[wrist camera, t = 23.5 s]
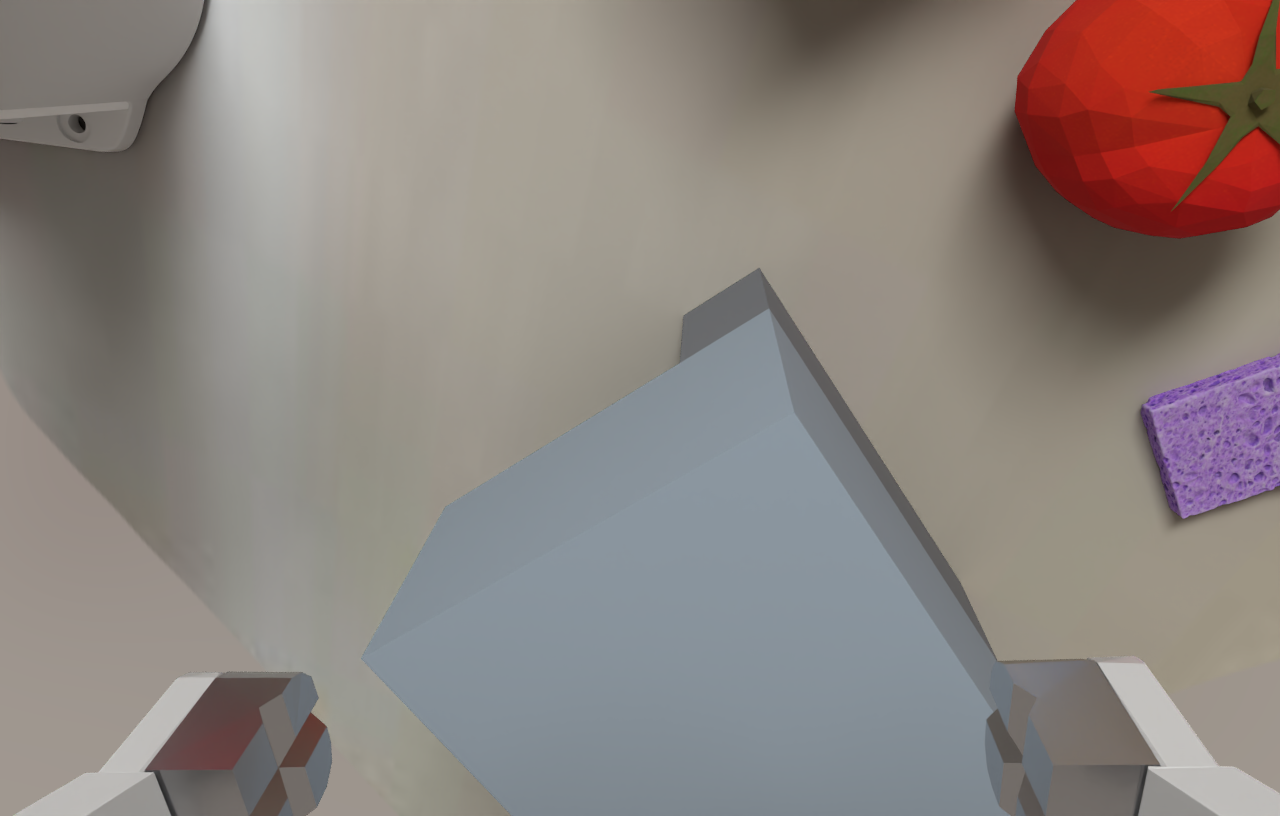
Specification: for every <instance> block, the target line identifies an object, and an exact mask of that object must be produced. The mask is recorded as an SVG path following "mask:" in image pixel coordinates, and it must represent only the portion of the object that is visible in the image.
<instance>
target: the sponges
mask: <svg viewBox="0 0 1280 816" xmlns="http://www.w3.org/2000/svg"><path fill="white" fill-rule="evenodd" d="M1141 416H1142V419H1143V422H1144V425H1145V427H1146V428H1147V434H1148V437H1149V441H1150V444H1151V447H1152V449H1153V454H1154V456H1155V458H1156V462H1157V463H1158V465H1159V467H1160V469H1161V470H1160V474H1161V479H1162V482H1163V485H1164V489H1165V493H1166V497H1167V500H1168V503H1169V507H1170V508H1171V509H1172V510H1173V511H1174V512H1176V513H1177V514H1178V515H1179V516H1181V517H1182V518H1183V519H1184V518H1187V517H1188V516H1190V515H1197V514H1199V513H1203V512H1206V511H1208V510H1211V509H1215V508H1216V507H1218V506H1221V505H1223V504H1230V503H1233V502H1237V501H1240V500H1243V499H1246V498H1248V497H1250V496H1254V495H1257V494H1259V493H1262V492H1264V491H1267V490H1268V491H1270V490H1273V489H1274V488H1275V487H1276V486H1280V353H1279V354H1278V355H1276V356H1274V357H1266V358H1264V359H1261V360H1258V361H1254V362H1252V363H1249V364H1246V365H1243V366H1241V367H1238V368H1237V369H1234V370H1229V371H1226V372H1223V373H1221V374H1219V375H1216V376H1213V377H1209V378H1206V379H1204V380H1200V381H1197V382H1194V383H1192V384H1190V385H1187V386H1183V387H1179V388H1176V389H1172V390H1170V391H1167V392H1164V393H1161V394H1158V395H1155V396H1153V397H1150V398H1149V400H1148V402H1147V403H1146V404H1143V405H1142V410H1141Z"/></svg>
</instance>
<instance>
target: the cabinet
mask: <svg viewBox="0 0 1280 816" xmlns="http://www.w3.org/2000/svg"><path fill="white" fill-rule="evenodd" d="M361 659H362V660H363V661H364V662H365V663H366V664H367V665H368V666H369V667H370V668H371V670H372V671H373V672H374V673H375V674H376V675H377V676H378V677H379V678H380V679H381V680H382V681H383V682H384V683H385V684H386V685H387V686H388V687H389V688H390V689H391V690H392V691H393V692H394V694H395V695H396V696H397V697H398V698H399V699H400V700H401V701H402V702H403V703H404V704H405V705H406V706H407V707H408V708H409V709H410V710H411V711H412V712H413V713H414V714H415V715H416V716H417V717H418V719H419V720H420V721H421V722H422V723H423V724H424V725H425V726H426V727H427V728H428V729H429V730H430V731H431V732H432V733H433V734H434V735H435V736H436V737H437V738H438V739H439V740H440V741H441V743H442V744H443V745H444V746H445V747H446V748H447V749H448V750H449V751H450V752H451V753H452V754H453V755H454V756H455V757H456V758H457V759H458V760H459V761H460V762H461V763H462V764H463V765H464V766H465V768H466V769H467V770H468V771H469V772H470V773H471V774H472V775H473V776H474V777H475V778H476V779H477V780H478V781H479V782H480V783H481V784H482V785H483V786H484V787H485V788H486V789H487V790H488V792H489V793H490V794H491V795H492V796H493V797H494V798H495V799H496V800H497V801H498V802H499V803H500V804H501V805H502V806H503V807H504V808H505V809H506V810H507V811H508V812H509V813H510V814H511V816H1010V815H1009V814H1008V813H1007V812H1005V811H1004V810H1003V809H1002V808H1000V807H999V805H998V802H997V799H996V797H995V794H994V791H993V789H992V785H991V781H990V777H989V773H988V770H987V762H986V752H985V730H986V719H987V718H988V717H989V716H990V715H991V714H992V713H993V712H994V711H995V710H996V709H997V706H996V703H995V701H994V699H993V696H992V694H991V692H990V689H989V687H990V679H991V671H992V669H993V666H994V664H995V661H997V659H996V657H995V655H994V652H993V650H992V648H991V646H990V644H989V642H988V640H987V638H986V636H985V633H984V631H983V629H982V627H981V625H980V623H979V621H978V619H977V616H976V614H975V612H974V610H973V608H972V606H971V604H970V602H969V600H968V597H967V595H966V593H965V591H964V589H963V587H962V585H961V583H960V581H959V580H958V578H957V577H956V575H955V573H954V572H953V570H952V569H951V567H950V566H949V564H948V562H947V561H946V559H945V558H944V556H943V555H942V553H941V552H940V550H939V548H938V547H937V545H936V544H935V542H934V541H933V539H932V537H931V536H930V534H929V533H928V531H927V530H926V528H925V527H924V525H923V523H922V522H921V520H920V519H919V517H918V516H917V514H916V512H915V511H914V509H913V508H912V506H911V505H910V503H909V501H908V500H907V498H906V497H905V495H904V494H903V492H902V491H901V489H900V487H899V486H898V484H897V483H896V481H895V480H894V478H893V476H892V475H891V473H890V472H889V470H888V469H887V467H886V465H885V464H884V462H883V461H882V459H881V458H880V456H879V455H878V453H877V451H876V450H875V448H874V447H873V445H872V444H871V442H870V440H869V439H868V437H867V436H866V434H865V433H864V431H863V430H862V428H861V426H860V425H859V423H858V422H857V420H856V419H855V417H854V415H853V414H852V412H851V411H850V409H849V408H848V406H847V404H846V403H845V401H844V400H843V398H842V397H841V395H840V394H839V392H838V390H837V389H836V387H835V386H834V384H833V383H832V381H831V379H830V378H829V376H828V375H827V373H826V372H825V370H824V369H823V367H822V365H821V364H820V362H819V361H818V359H817V358H816V356H815V354H814V353H813V351H812V350H811V348H810V347H809V345H808V343H807V342H806V340H805V339H804V337H803V336H802V334H801V333H800V331H799V329H798V328H797V326H796V325H795V323H794V322H793V320H792V318H791V317H790V315H789V314H788V312H787V311H786V309H785V307H784V306H783V304H782V303H781V301H780V300H779V298H778V297H777V295H776V293H775V292H774V290H773V289H772V287H771V286H770V284H769V282H768V281H767V279H766V278H765V276H764V275H763V273H762V272H761V270H760V268H758V269H757V270H755V271H754V272H752V273H750V274H749V275H747V276H746V277H744V278H743V279H741V280H739V281H738V282H736V283H735V284H733V285H731V286H730V287H728V288H727V289H725V290H723V291H722V292H720V293H719V294H717V295H716V296H714V297H712V298H711V299H709V300H708V301H706V302H704V303H703V304H701V305H700V306H698V307H697V308H695V309H693V310H692V311H690V312H689V313H687V314H685V315H684V317H683V330H682V343H681V356H680V363H679V364H677V365H676V366H674V367H672V368H671V369H669V370H668V371H666V372H664V373H663V374H661V375H659V376H658V377H656V378H655V379H653V380H651V381H650V382H648V383H646V384H645V385H643V386H641V387H640V388H638V389H637V390H635V391H633V392H632V393H630V394H628V395H627V396H625V397H624V398H622V399H620V400H619V401H617V402H615V403H614V404H612V405H611V406H609V407H607V408H606V409H604V410H602V411H601V412H599V413H597V414H596V415H594V416H593V417H591V418H589V419H588V420H586V421H584V422H583V423H581V424H580V425H578V426H576V427H575V428H573V429H571V430H570V431H568V432H566V433H565V434H563V435H562V436H560V437H558V438H557V439H555V440H553V441H552V442H550V443H549V444H547V445H545V446H544V447H542V448H540V449H539V450H537V451H535V452H534V453H532V454H531V455H529V456H527V457H526V458H524V459H522V460H521V461H519V462H518V463H516V464H514V465H513V466H511V467H509V468H508V469H506V470H505V471H503V472H501V473H500V474H498V475H496V476H495V477H493V478H491V479H490V480H488V481H487V482H485V483H483V484H482V485H480V486H478V487H477V488H475V489H474V490H472V491H470V492H469V493H467V494H465V495H464V496H462V497H460V498H459V499H457V500H456V501H454V502H452V503H451V504H449V505H447V506H446V507H445V508H444V510H443V512H442V514H441V516H440V517H439V519H438V521H437V523H436V525H435V526H434V528H433V530H432V532H431V534H430V535H429V537H428V539H427V541H426V543H425V544H424V546H423V548H422V550H421V551H420V553H419V555H418V557H417V559H416V560H415V562H414V564H413V566H412V568H411V569H410V571H409V573H408V575H407V577H406V578H405V580H404V582H403V584H402V586H401V587H400V589H399V591H398V593H397V595H396V596H395V598H394V600H393V602H392V604H391V605H390V607H389V609H388V611H387V613H386V614H385V616H384V618H383V620H382V622H381V623H380V625H379V627H378V629H377V631H376V632H375V634H374V636H373V638H372V640H371V641H370V643H369V645H368V647H367V649H366V650H365V652H364V654H363V656H362V658H361Z"/></svg>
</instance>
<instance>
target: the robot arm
mask: <svg viewBox="0 0 1280 816" xmlns="http://www.w3.org/2000/svg"><path fill="white" fill-rule="evenodd" d="M203 4H204V0H0V139H7V140H14V141H22V142H30V143H37V144H45V145H53V146H60V147H68V148H75V149H83V150H91V151H98V152H119V151H123V150H126V149H127V148H129V147H130V146H131V145H132V143H133V142H134V140H135V138H136V136H137V134H138V131H139V128H140V126H141V122H142V119H143V115H144V112H145V108H146V104H147V100H148V98H149V96H150V95H151V93H152V92H153V91H154V89H155V88H156V87H157V86H158V84H159V83H160V82H161V81H162V80H163V79H164V78H165V77H166V76H167V75H168V74H169V73H170V72H171V71H172V70H173V69H174V67H175V66H176V65H177V64H178V62H179V61H180V60H181V58H182V57H183V55H184V54H185V52H186V51H187V49H188V47H189V45H190V43H191V41H192V39H193V37H194V35H195V32H196V30H197V27H198V24H199V21H200V17H201V13H202V9H203ZM79 116H81V117H82V118H83V119H84V121H85V123H86V129H85V130H83V129H82V128H81V127H80V125H79V122H78V118H79ZM989 689H990V692H991V694H992V696H993V699H994V701H995V703H996V706H997V709H996V710H995V711H994V712H993V713H992V714H991V715H990V716H989V717H988V718H987V719H986V730H985V752H986V762H987V770H988V773H989V777H990V781H991V785H992V789H993V791H994V794H995V797H996V799H997V802H998V805H999V807H1000V808H1002V809H1003V810H1004V811H1005V812H1007V813H1008V814H1009V815H1010V816H1280V793H1278V792H1277V791H1275V790H1273V789H1271V788H1270V787H1268V786H1266V785H1265V784H1263V783H1261V782H1260V781H1258V780H1256V779H1255V778H1253V777H1251V776H1249V775H1248V774H1246V773H1244V772H1243V771H1241V770H1239V769H1238V768H1236V767H1220V766H1219V765H1218V764H1217V762H1216V761H1215V760H1214V758H1213V757H1212V755H1211V754H1210V753H1209V751H1208V750H1207V749H1206V747H1205V746H1204V744H1203V743H1202V742H1201V740H1200V739H1199V737H1198V736H1197V735H1196V733H1195V732H1194V730H1193V729H1192V728H1191V726H1190V725H1189V724H1188V722H1187V721H1186V719H1185V718H1184V717H1183V715H1182V714H1181V712H1180V711H1179V710H1178V708H1177V707H1176V706H1175V704H1174V703H1173V701H1172V700H1171V699H1170V697H1169V696H1168V694H1167V693H1166V692H1165V690H1164V689H1163V688H1162V686H1161V685H1160V683H1159V682H1158V681H1157V679H1156V678H1155V676H1154V675H1153V674H1152V672H1151V671H1150V670H1149V668H1148V667H1147V665H1146V664H1145V663H1144V661H1142V660H1140V659H1139V658H1137V657H1135V656H1120V657H1093V658H1087V659H1056V660H1012V661H995V664H994V666H993V669H992V671H991V679H990V687H989ZM317 700H318V695H317V692H316V689H315V686H314V683H313V680H312V677H311V676H309V675H306V674H304V673H302V672H226V673H222V672H189V673H187V674H184V675H182V676H180V677H178V678H176V680H175V681H174V682H173V683H172V684H171V686H170V687H169V688H168V689H167V690H166V692H165V693H164V694H163V695H162V696H161V698H160V699H159V700H158V701H157V702H156V704H155V705H154V706H153V707H152V708H151V710H150V711H149V712H148V713H147V714H146V715H145V717H144V718H143V719H142V721H141V722H140V723H139V724H138V725H137V726H136V728H135V729H134V730H133V731H132V732H131V733H130V735H129V736H128V737H127V738H126V739H125V741H124V742H123V743H122V744H121V745H120V747H119V748H118V749H117V750H116V751H115V753H114V754H113V755H112V756H111V758H110V759H109V760H108V761H107V762H106V763H105V765H104V766H103V767H102V768H101V769H100V771H99V772H96V773H95V772H94V773H84V774H82V775H80V776H79V777H77V778H75V779H74V780H72V781H71V782H69V783H67V784H65V785H63V786H62V787H60V788H58V789H57V790H55V791H53V792H52V793H50V794H48V795H46V796H45V797H43V798H41V799H40V800H38V801H36V802H34V803H33V804H31V805H29V806H28V807H26V808H24V809H23V810H21V811H19V812H18V813H16V814H14V815H12V816H306V815H308V814H309V813H310V812H311V811H313V810H314V809H315V808H317V806H318V804H319V802H320V800H321V798H322V795H323V793H324V791H325V789H326V787H327V783H328V778H329V773H330V768H331V764H332V753H331V741H330V737H329V733H328V729H327V726H326V725H324V724H323V723H322V722H321V721H320V720H319V719H318V718H316V717H315V716H314V715H313V714H312V713H311V711H312V709H313V707H314V705H315V703H316V702H317Z"/></svg>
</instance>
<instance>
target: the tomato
mask: <svg viewBox="0 0 1280 816" xmlns="http://www.w3.org/2000/svg"><path fill="white" fill-rule="evenodd" d="M1015 113H1016V116H1017V119H1018V121H1019V124H1020V126H1021V129H1022V132H1023V134H1024V137H1025V140H1026V142H1027V145H1028V148H1029V150H1030V153H1031V156H1032V158H1033V161H1034V164H1035V166H1036V167H1037V168H1038V170H1039V171H1040V172H1041V173H1042V175H1043V176H1044V177H1045V178H1046V179H1047V181H1048V182H1049V183H1050V184H1051V186H1052V187H1053V188H1054V189H1055V190H1056V192H1058V193H1059V194H1060V195H1061V196H1063V197H1064V198H1065V199H1066V200H1068V201H1069V202H1070V203H1072V204H1073V205H1075V206H1076V207H1078V208H1079V209H1081V210H1082V211H1084V212H1085V213H1087V214H1088V215H1090V216H1091V217H1093V218H1095V219H1097V220H1099V221H1101V222H1103V223H1106V224H1108V225H1110V226H1112V227H1114V228H1119V229H1123V230H1128V231H1132V232H1137V233H1141V234H1146V235H1151V236H1160V237H1170V238H1186V237H1192V236H1198V235H1204V234H1210V233H1215V232H1221V231H1227V230H1232V229H1238V228H1244V227H1248V226H1250V225H1253V224H1255V223H1258V222H1260V221H1263V220H1265V219H1267V218H1270V217H1272V216H1273V215H1274V214H1275V213H1276V212H1277V211H1278V210H1279V209H1280V0H1076V1H1075V2H1074V3H1073V4H1072V5H1071V6H1070V7H1069V8H1068V9H1067V10H1066V11H1065V12H1064V13H1063V14H1062V15H1061V16H1060V17H1059V18H1058V19H1057V20H1056V21H1055V22H1054V23H1053V24H1052V25H1051V26H1050V27H1049V28H1048V29H1047V30H1046V31H1045V33H1044V34H1043V36H1042V38H1041V39H1040V41H1039V42H1038V44H1037V46H1036V47H1035V49H1034V51H1033V52H1032V54H1031V55H1030V57H1029V59H1028V60H1027V62H1026V64H1025V65H1024V67H1023V68H1022V70H1021V72H1020V73H1019V75H1018V77H1017V91H1016V102H1015Z"/></svg>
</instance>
